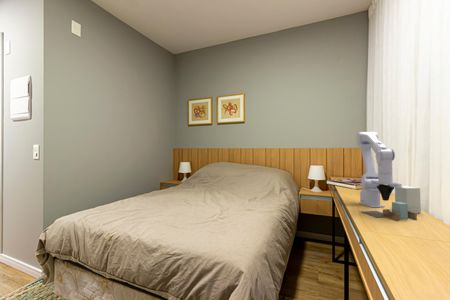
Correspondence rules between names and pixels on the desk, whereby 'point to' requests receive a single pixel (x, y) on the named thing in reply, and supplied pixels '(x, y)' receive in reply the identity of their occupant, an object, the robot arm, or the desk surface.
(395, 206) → the block
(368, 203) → the robot arm
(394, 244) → the desk surface
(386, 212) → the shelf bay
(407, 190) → the supplement box
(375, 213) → the mat
